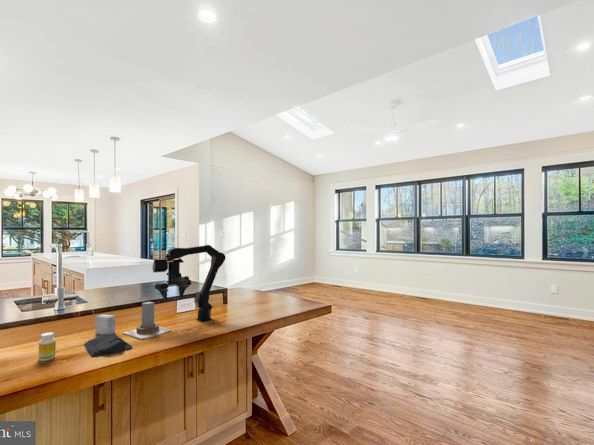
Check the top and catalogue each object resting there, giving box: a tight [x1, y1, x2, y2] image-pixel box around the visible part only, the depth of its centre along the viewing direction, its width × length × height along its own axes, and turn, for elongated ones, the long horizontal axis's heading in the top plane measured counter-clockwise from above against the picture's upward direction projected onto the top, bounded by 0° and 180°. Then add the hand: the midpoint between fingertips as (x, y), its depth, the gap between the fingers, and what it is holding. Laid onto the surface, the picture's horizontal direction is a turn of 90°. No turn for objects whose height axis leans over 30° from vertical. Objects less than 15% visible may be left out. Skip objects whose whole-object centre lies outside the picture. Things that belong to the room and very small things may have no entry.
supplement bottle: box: [37, 332, 57, 362], centre depth 128 cm, size 5×5×10 cm
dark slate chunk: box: [83, 333, 133, 358], centre depth 141 cm, size 15×22×5 cm
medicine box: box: [94, 314, 116, 336], centre depth 159 cm, size 8×4×9 cm, turn 74°
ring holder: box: [122, 322, 173, 341], centre depth 161 cm, size 16×16×3 cm
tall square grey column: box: [141, 301, 155, 328], centre depth 161 cm, size 4×4×14 cm
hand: (173, 300), depth 174 cm, fingers open, 9 cm apart
